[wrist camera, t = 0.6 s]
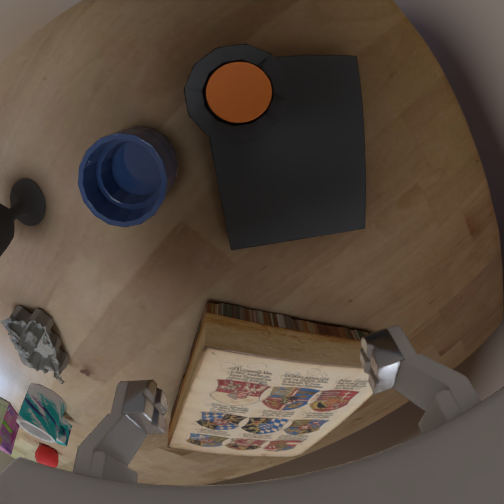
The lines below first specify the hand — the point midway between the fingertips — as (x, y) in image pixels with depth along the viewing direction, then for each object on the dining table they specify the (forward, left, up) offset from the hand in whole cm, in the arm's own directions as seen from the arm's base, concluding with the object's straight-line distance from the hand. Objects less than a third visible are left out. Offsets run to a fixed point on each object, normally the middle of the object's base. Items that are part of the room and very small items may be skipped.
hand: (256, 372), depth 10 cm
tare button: (-9, +1, -13) cm, 16 cm away
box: (+37, -65, -16) cm, 76 cm away
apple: (+61, -70, -16) cm, 94 cm away
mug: (+30, -41, -16) cm, 53 cm away
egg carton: (+12, -29, -16) cm, 35 cm away
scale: (-4, +5, -16) cm, 17 cm away
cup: (-5, -7, -16) cm, 18 cm away
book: (+27, 0, -16) cm, 31 cm away
